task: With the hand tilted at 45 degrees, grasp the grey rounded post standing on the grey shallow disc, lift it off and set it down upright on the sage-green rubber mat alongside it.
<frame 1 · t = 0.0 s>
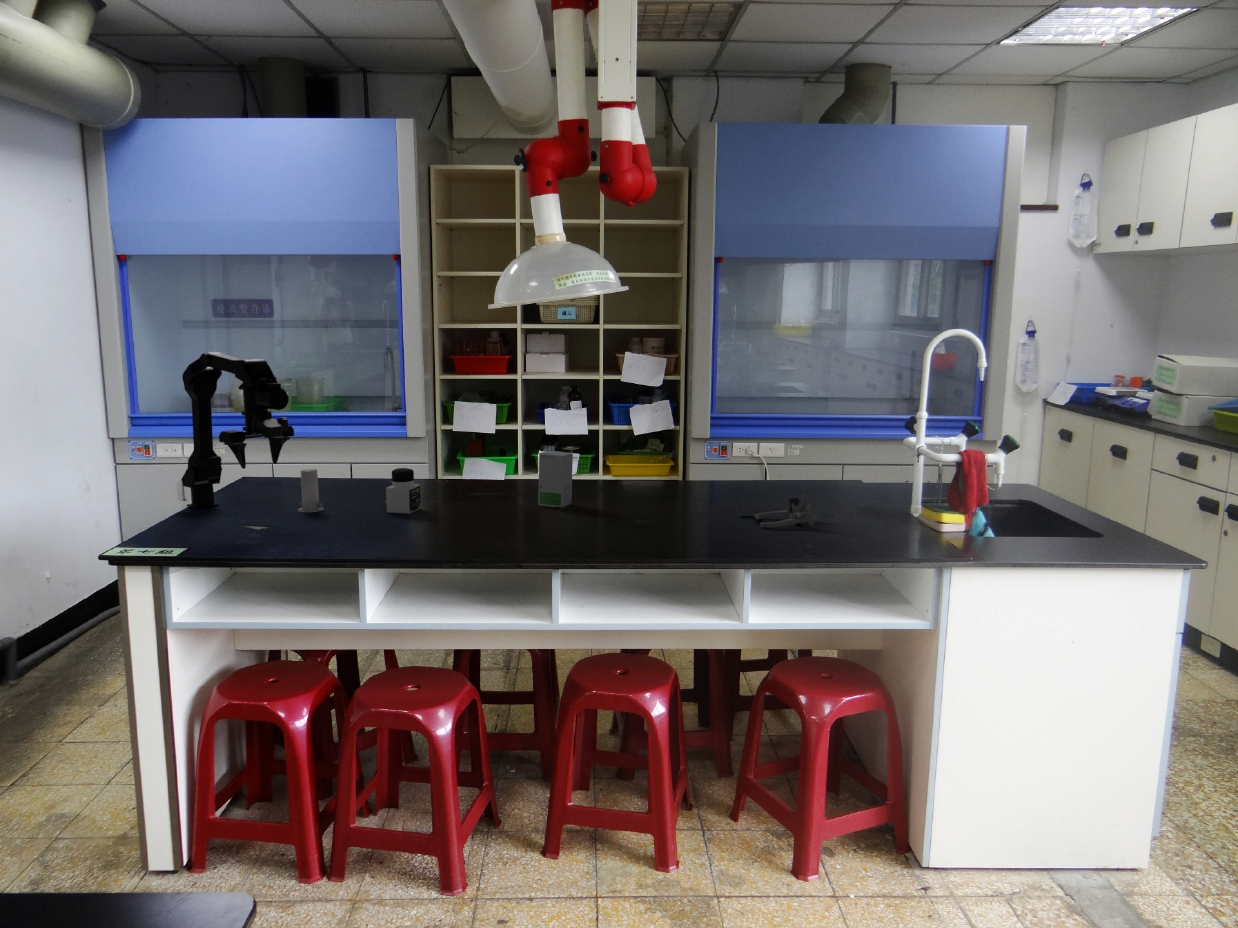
hand: (259, 466, 232), 15 cm above the countertop, tool pointing down, fingers open, 9 cm apart
grey shallow disc: (311, 511, 245), on the countertop
skincare box: (555, 505, 256), on the countertop
grey rounded post: (311, 509, 245), point 1 cm above the countertop, touching grey shallow disc
mat: (265, 522, 231), on the countertop
bike brake: (775, 525, 235), on the countertop
medicine bottle: (404, 511, 247), on the countertop
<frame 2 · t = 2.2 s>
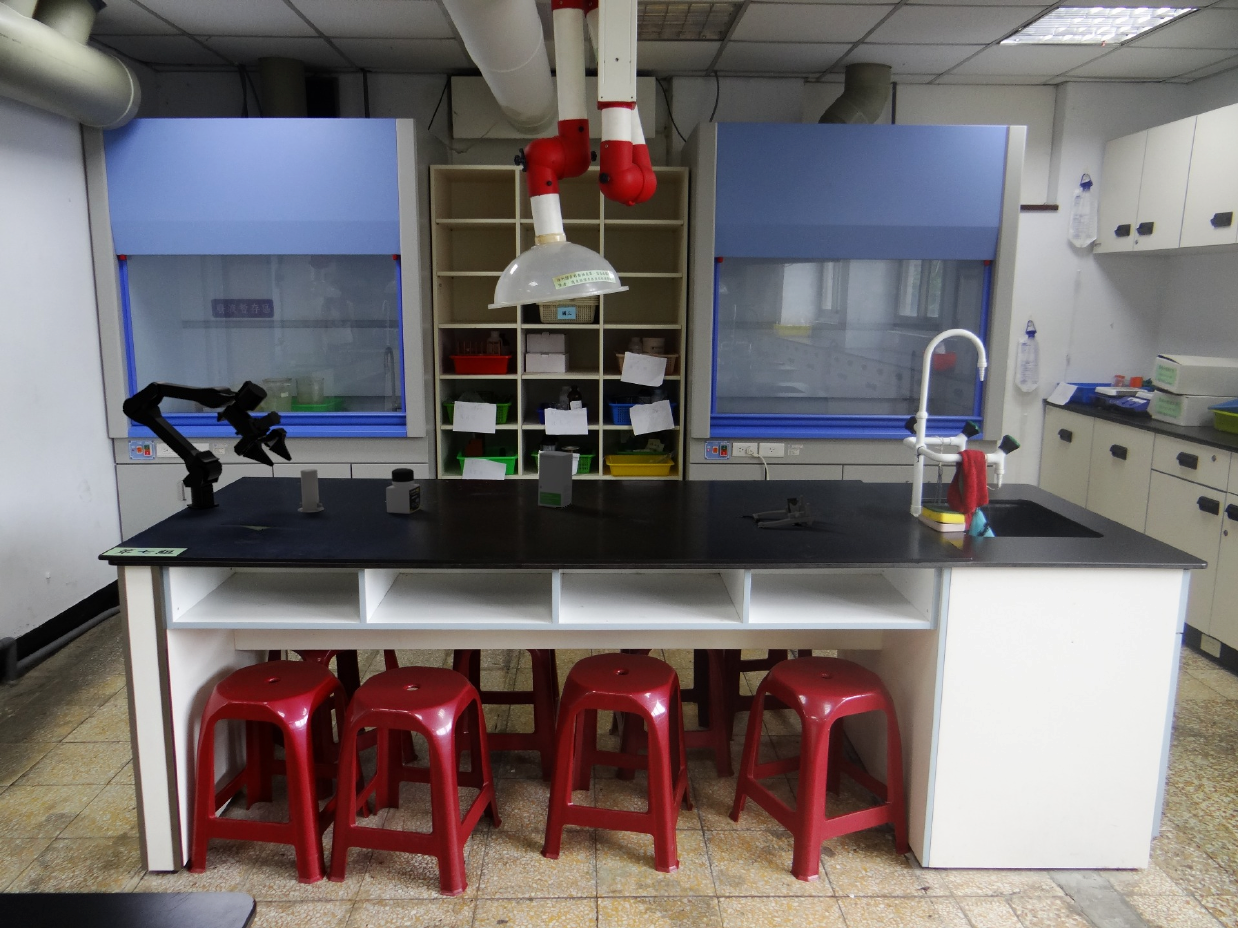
hand: (282, 462, 244), 13 cm above the countertop, tool tilted 45°, fingers open, 9 cm apart
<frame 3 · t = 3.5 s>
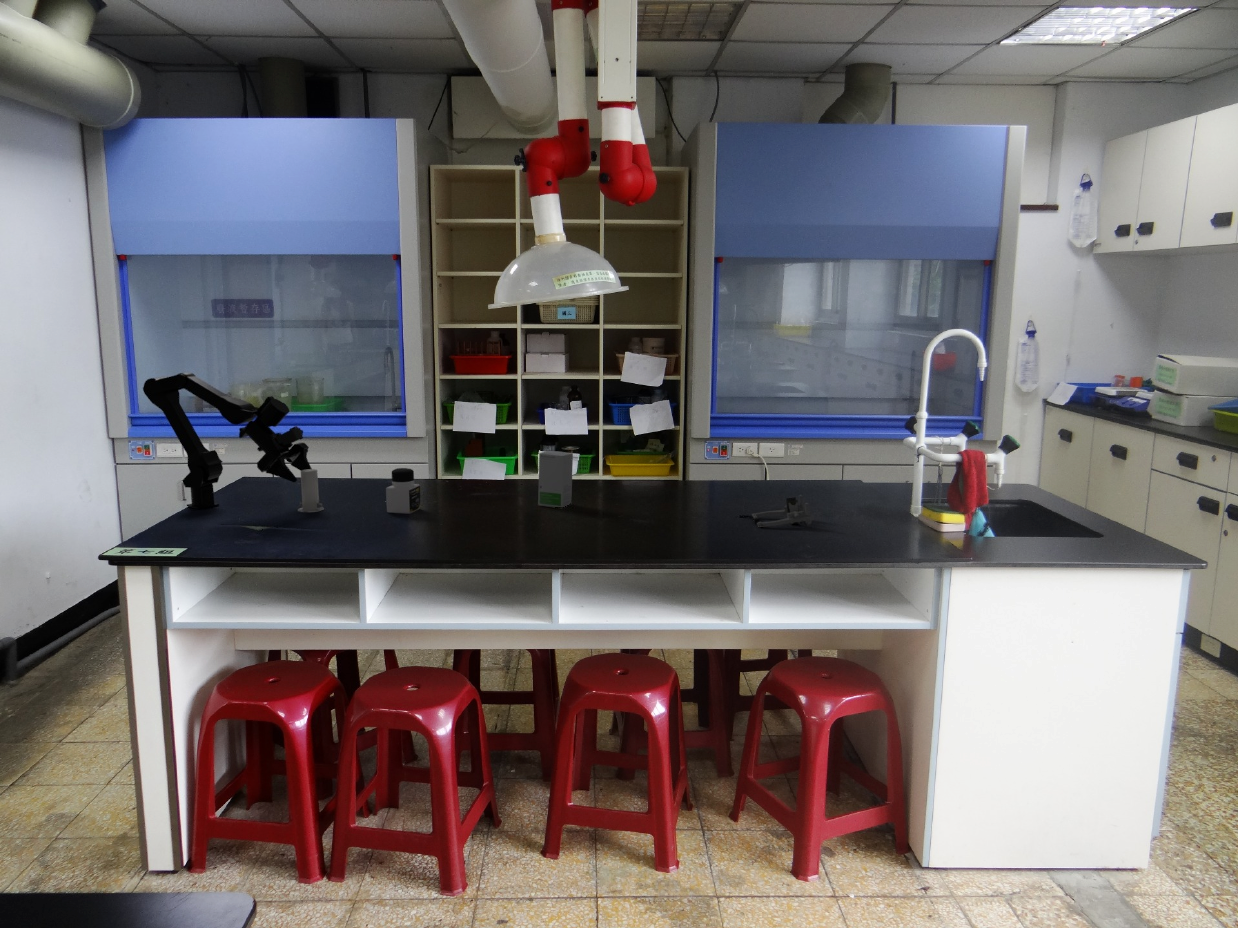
hand: (304, 478, 244), 9 cm above the countertop, tool tilted 45°, fingers open, 9 cm apart
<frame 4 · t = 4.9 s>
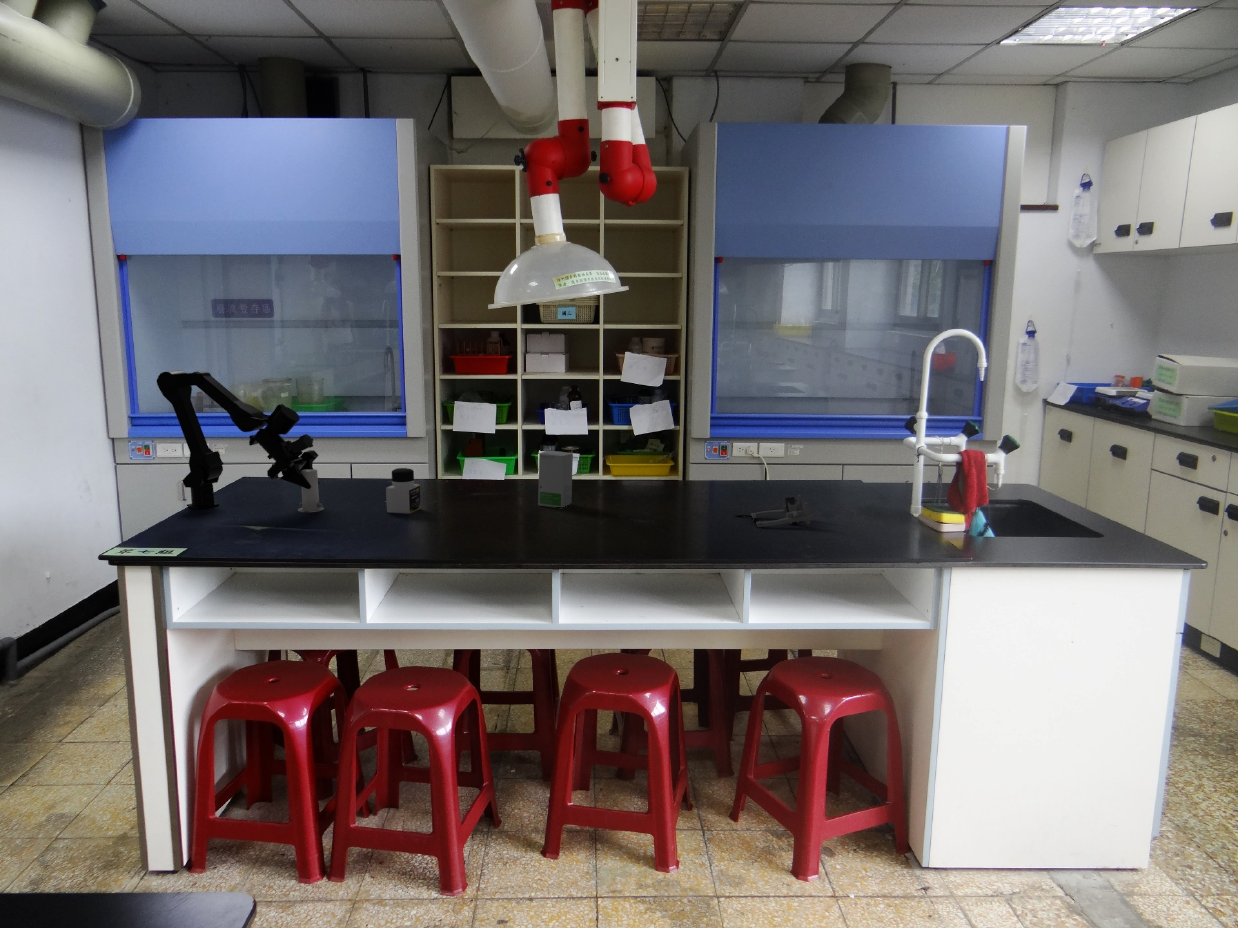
hand: (314, 486, 243), 7 cm above the countertop, tool tilted 45°, fingers closed on grey rounded post, 4 cm apart
grey rounded post: (311, 509, 245), point 1 cm above the countertop, touching gripper, grey shallow disc
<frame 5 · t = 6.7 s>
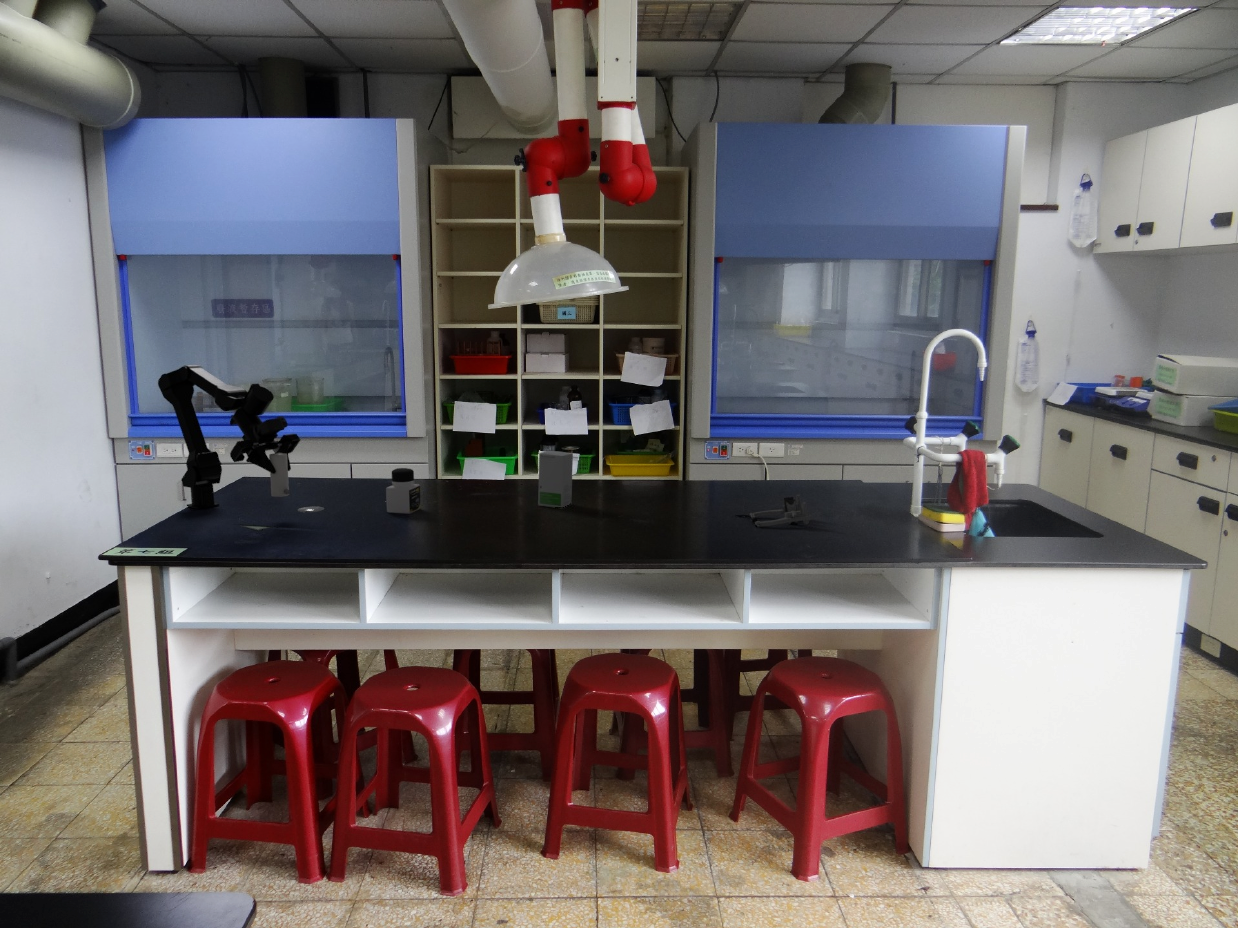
hand: (282, 471, 231), 14 cm above the countertop, tool tilted 45°, fingers closed on grey rounded post, 4 cm apart
grey rounded post: (280, 495, 233), point 7 cm above the countertop, touching gripper
when the fingers open (8 cm above the countertop, at t = 8.3 s): grey rounded post drops 1 cm, resting on mat.
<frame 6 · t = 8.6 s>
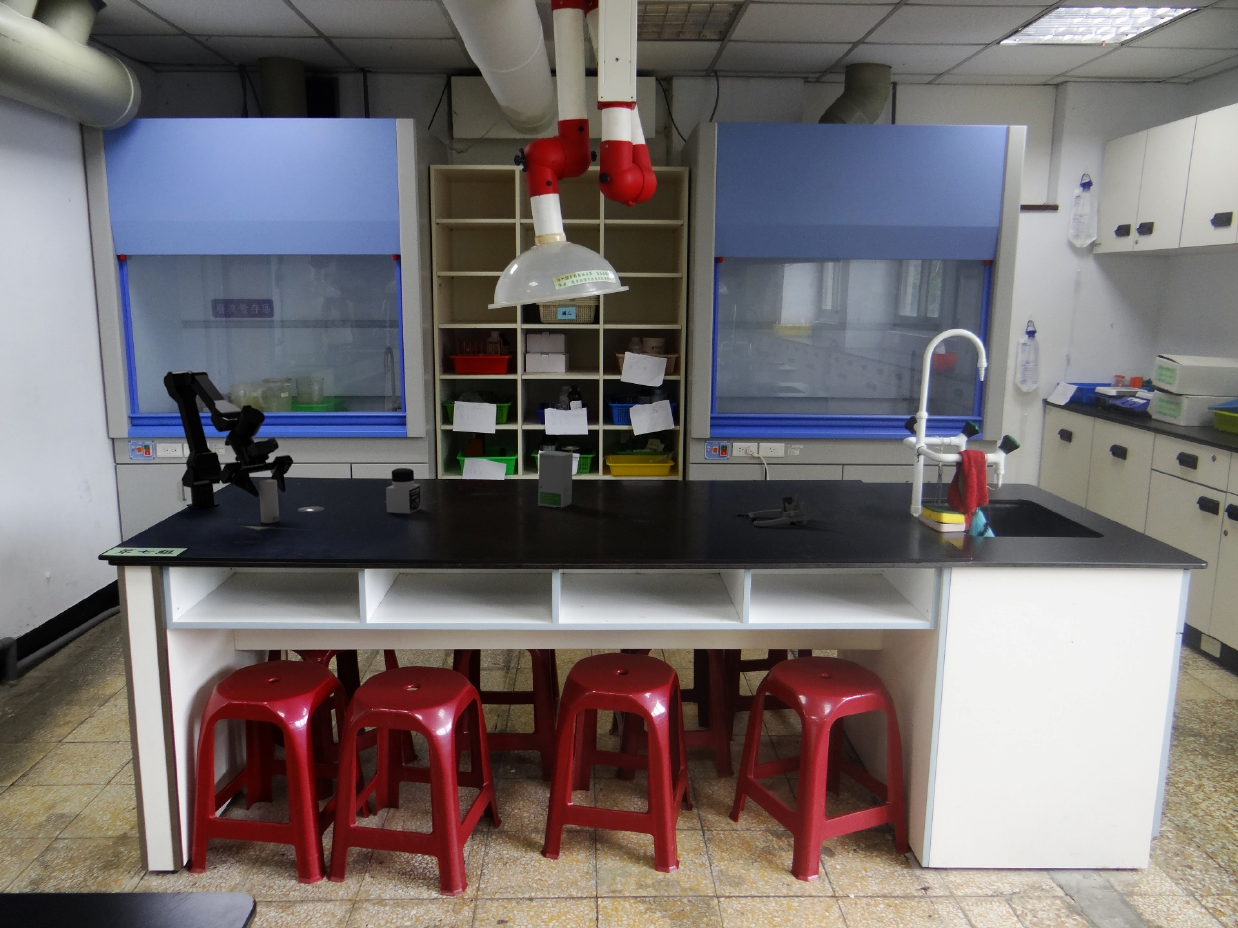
hand: (271, 493, 229), 8 cm above the countertop, tool tilted 45°, fingers open, 7 cm apart
grey rounded post: (270, 521, 231), resting on mat
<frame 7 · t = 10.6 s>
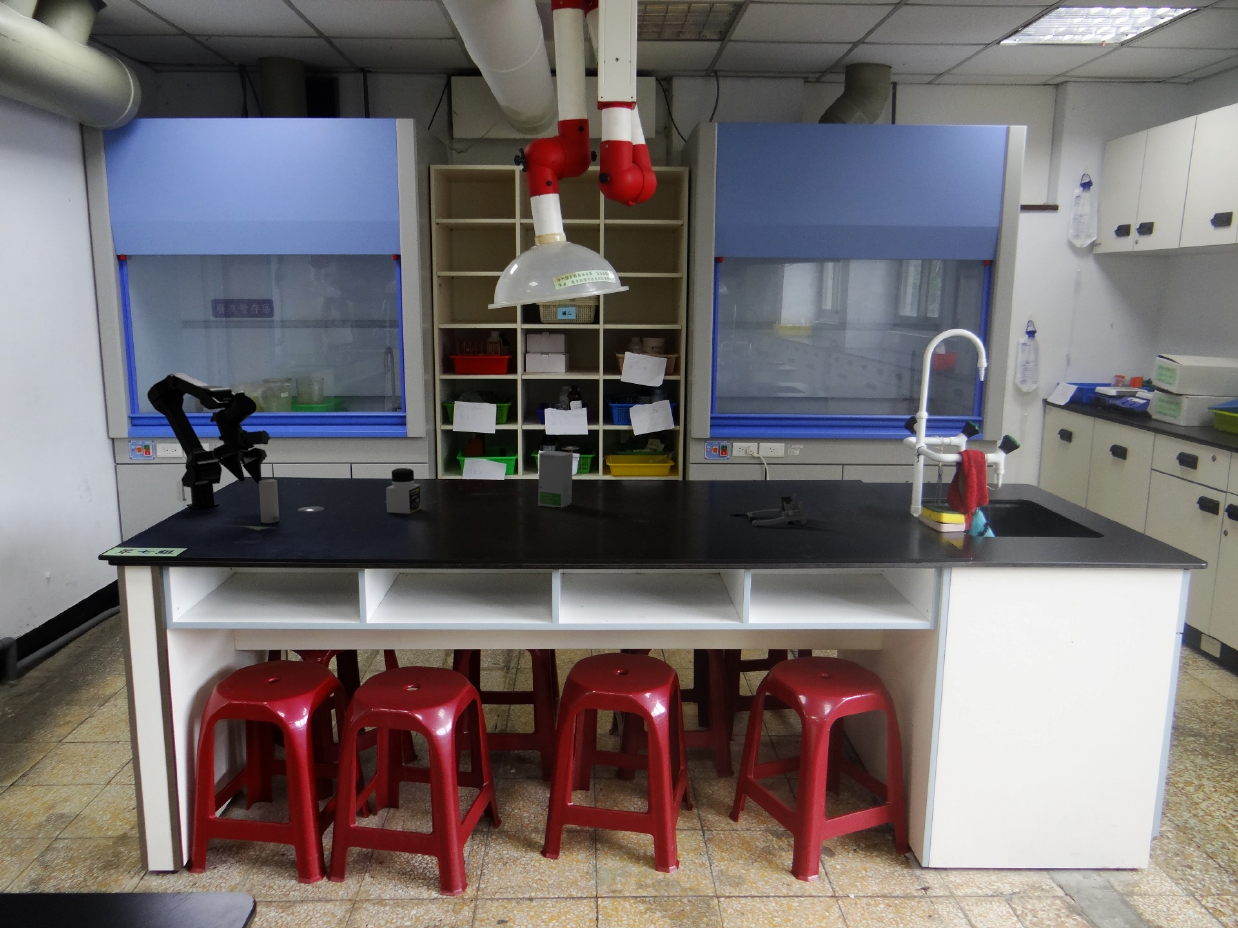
hand: (251, 482, 236), 10 cm above the countertop, tool tilted 30°, fingers open, 9 cm apart
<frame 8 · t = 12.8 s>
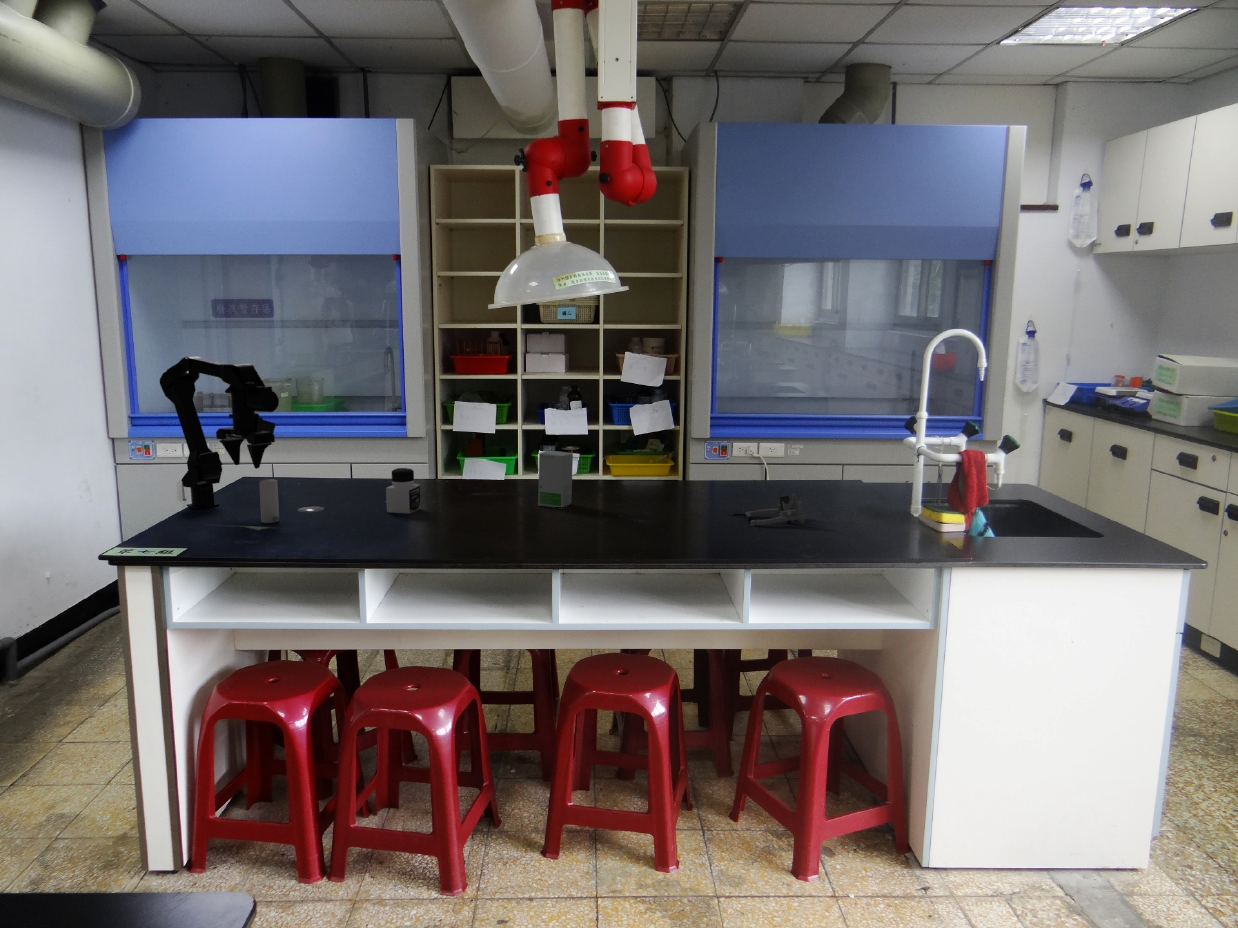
hand: (247, 466, 240), 13 cm above the countertop, tool pointing down, fingers open, 9 cm apart
at the end: grey rounded post inside the target area (0.6 cm from its centre), resting on mat; grey rounded post tilted 1°; the gripper is holding nothing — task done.
